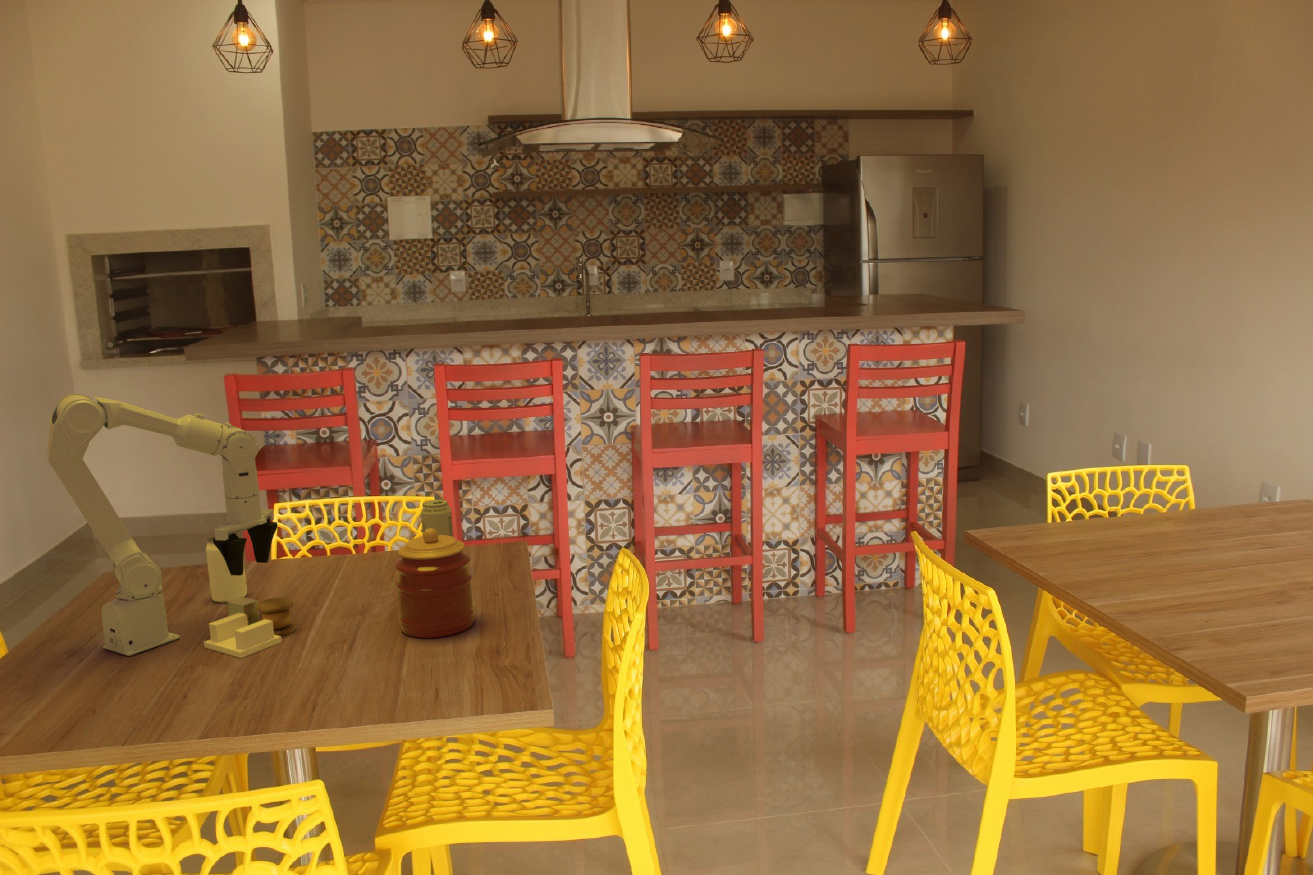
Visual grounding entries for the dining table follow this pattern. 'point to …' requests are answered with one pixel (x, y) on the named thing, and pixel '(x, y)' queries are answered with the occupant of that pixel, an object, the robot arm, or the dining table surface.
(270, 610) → the bobbin
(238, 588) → the can
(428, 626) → the canister
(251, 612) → the tab
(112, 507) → the robot arm
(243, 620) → the notch board
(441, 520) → the energy drink can
